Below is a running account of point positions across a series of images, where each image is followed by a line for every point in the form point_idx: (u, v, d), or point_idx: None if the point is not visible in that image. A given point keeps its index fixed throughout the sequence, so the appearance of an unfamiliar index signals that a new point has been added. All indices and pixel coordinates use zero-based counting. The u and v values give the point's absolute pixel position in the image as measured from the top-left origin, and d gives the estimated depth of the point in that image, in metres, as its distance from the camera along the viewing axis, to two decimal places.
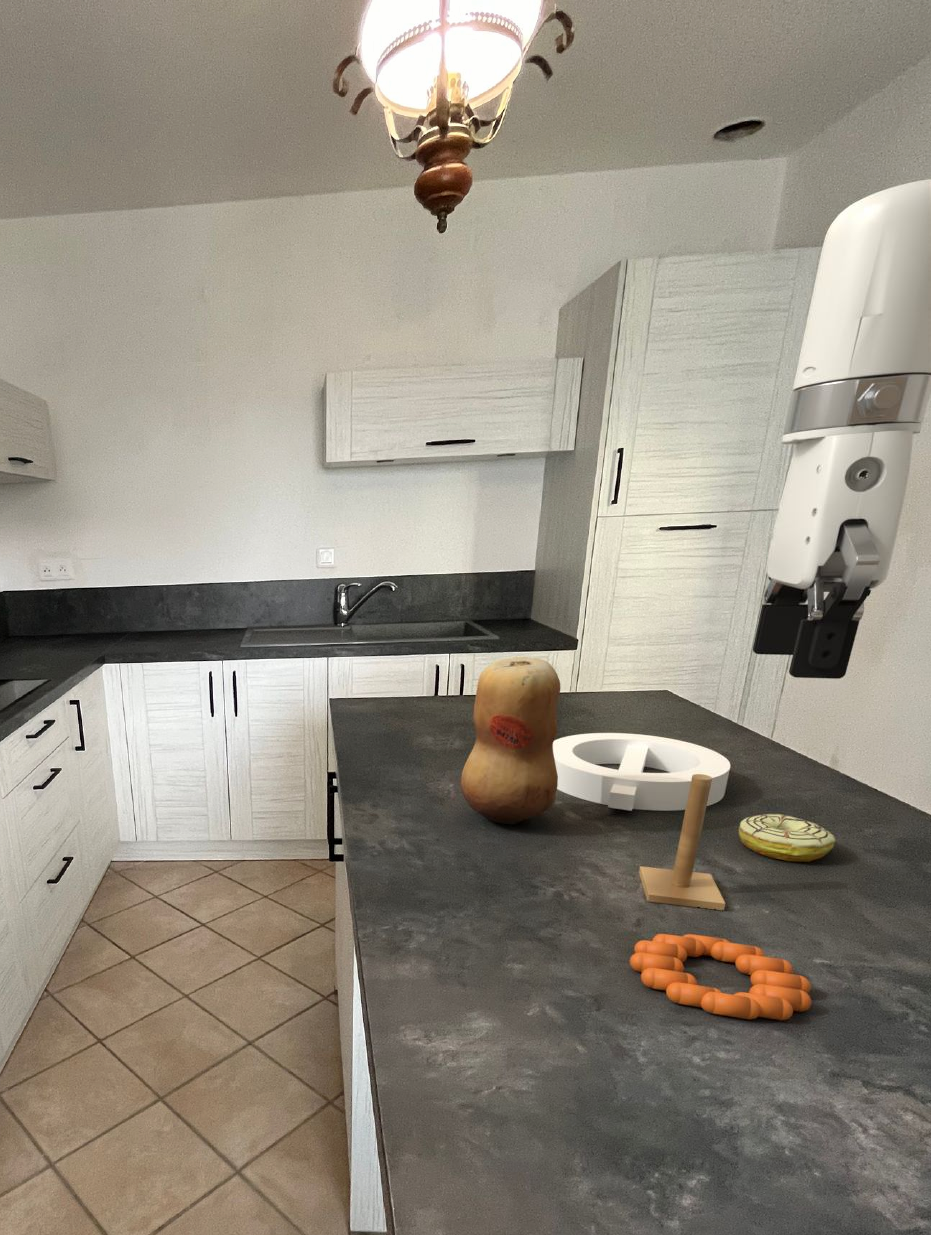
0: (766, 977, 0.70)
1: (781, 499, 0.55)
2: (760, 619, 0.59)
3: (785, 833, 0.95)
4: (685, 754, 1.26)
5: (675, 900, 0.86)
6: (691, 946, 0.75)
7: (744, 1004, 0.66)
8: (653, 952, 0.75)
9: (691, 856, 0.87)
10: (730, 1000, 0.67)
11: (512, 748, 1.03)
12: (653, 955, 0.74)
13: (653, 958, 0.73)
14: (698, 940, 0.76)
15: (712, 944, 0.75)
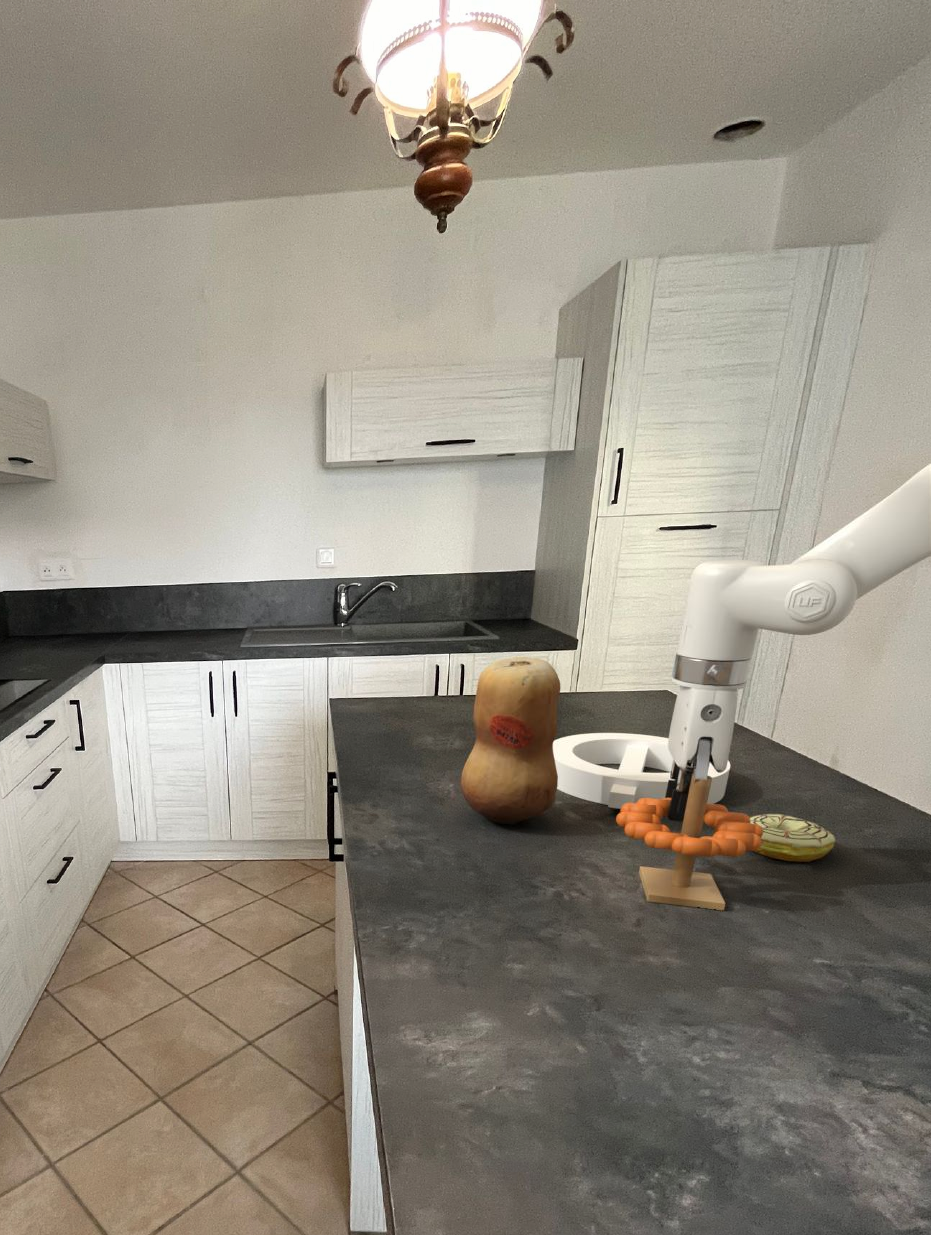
0: (727, 826, 0.85)
1: None
2: (667, 789, 0.93)
3: (785, 833, 0.95)
4: None
5: (675, 900, 0.86)
6: (667, 806, 0.91)
7: (706, 844, 0.82)
8: (636, 811, 0.90)
9: (691, 856, 0.87)
10: (695, 842, 0.82)
11: (512, 748, 1.03)
12: (635, 813, 0.89)
13: (635, 815, 0.88)
14: None
15: None
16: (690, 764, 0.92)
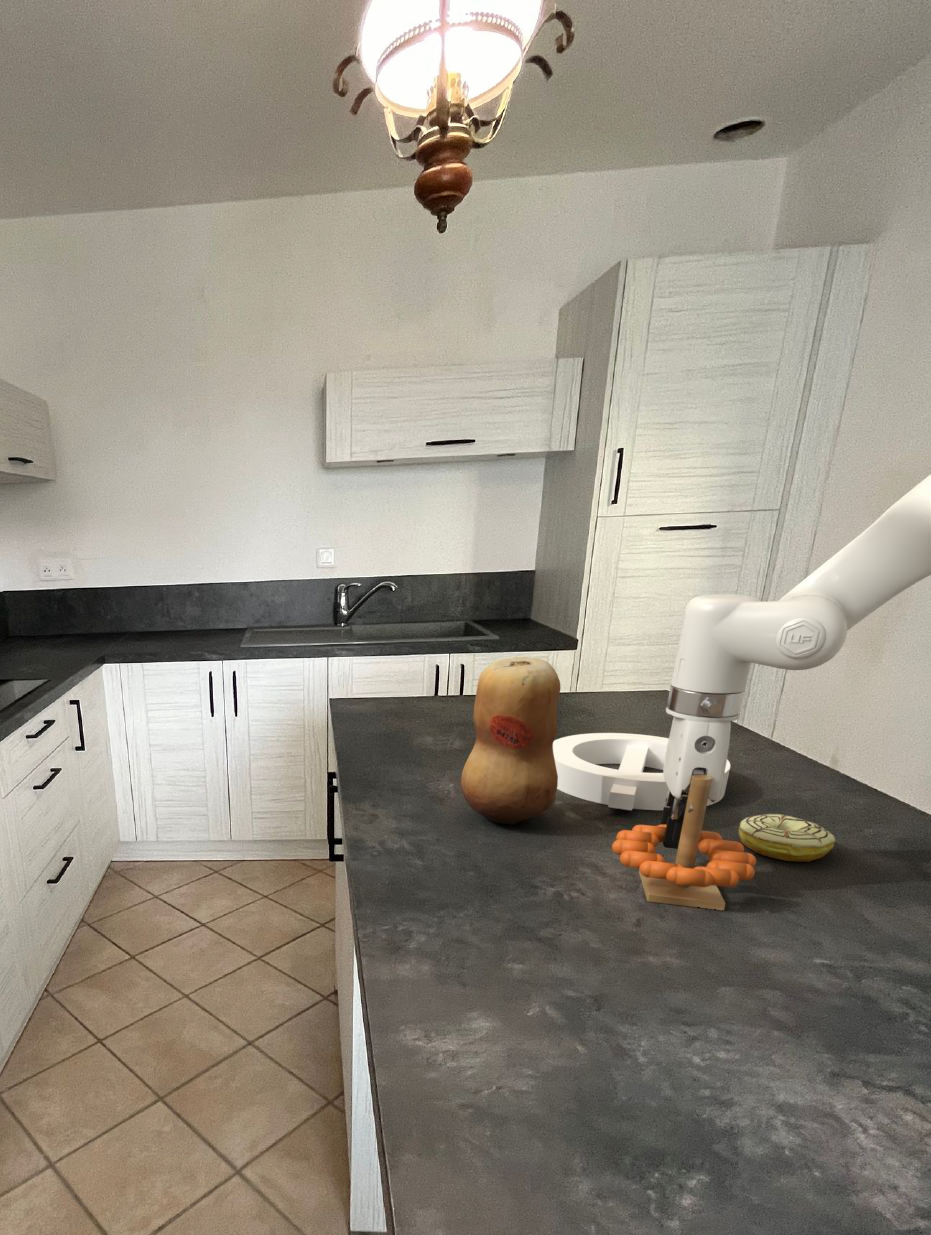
0: (721, 855, 0.86)
1: None
2: (662, 816, 0.94)
3: (785, 833, 0.95)
4: None
5: (675, 900, 0.86)
6: (663, 834, 0.92)
7: (700, 875, 0.83)
8: (631, 839, 0.92)
9: (691, 856, 0.87)
10: (689, 872, 0.83)
11: (512, 748, 1.03)
12: (631, 841, 0.90)
13: (630, 843, 0.90)
14: None
15: None
16: (685, 791, 0.93)
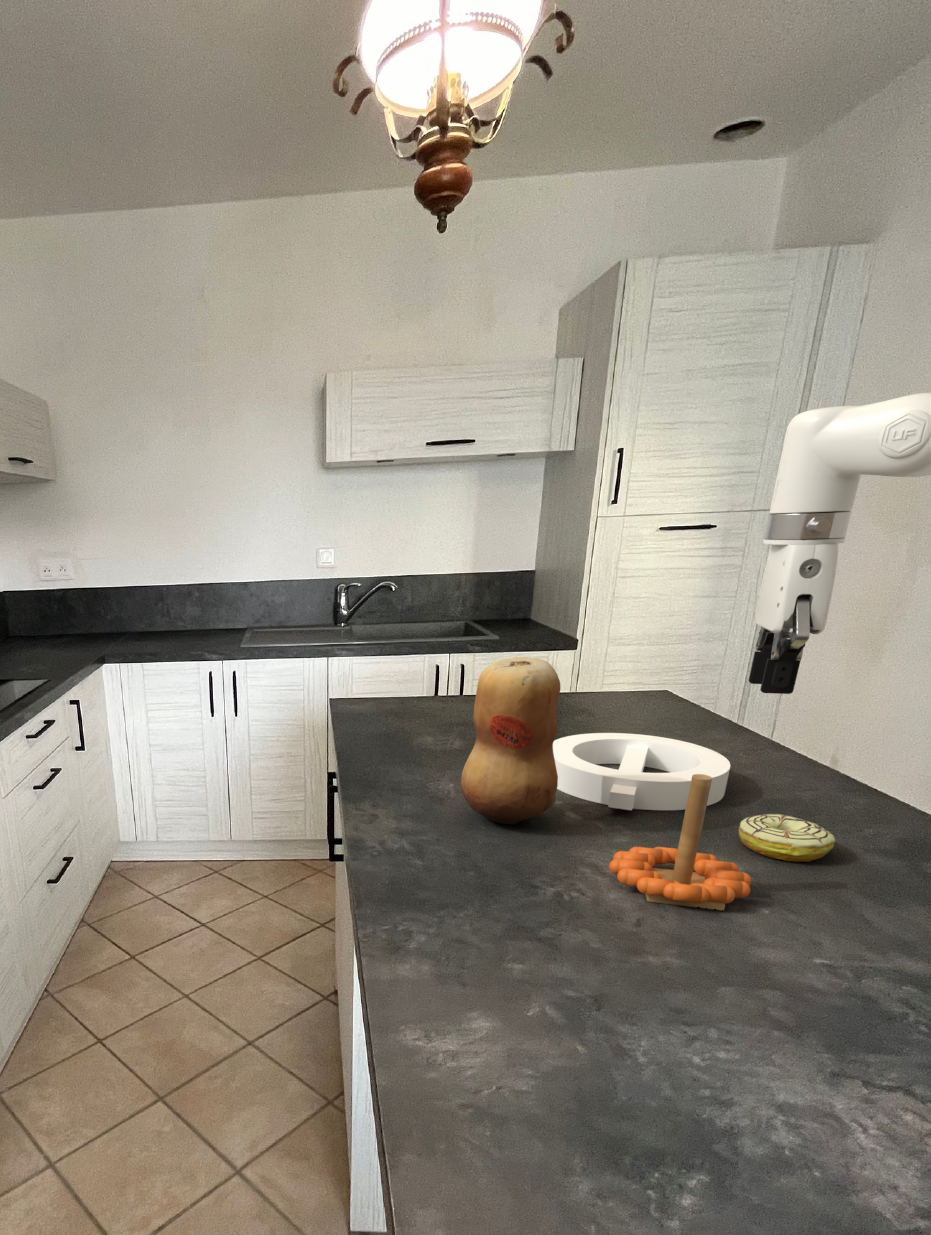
0: (716, 874, 0.88)
1: (763, 575, 0.88)
2: (753, 661, 0.91)
3: (785, 833, 0.95)
4: (685, 754, 1.26)
5: (675, 900, 0.86)
6: (659, 855, 0.93)
7: (697, 890, 0.84)
8: (628, 859, 0.93)
9: (691, 856, 0.87)
10: (686, 888, 0.84)
11: (512, 748, 1.03)
12: (627, 860, 0.91)
13: (627, 862, 0.91)
14: (665, 850, 0.94)
15: (676, 853, 0.93)
16: None
